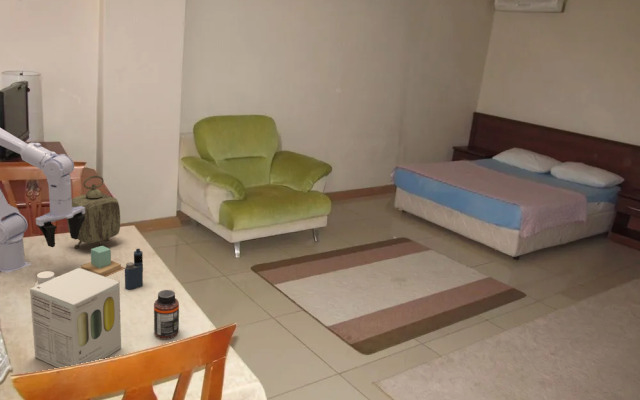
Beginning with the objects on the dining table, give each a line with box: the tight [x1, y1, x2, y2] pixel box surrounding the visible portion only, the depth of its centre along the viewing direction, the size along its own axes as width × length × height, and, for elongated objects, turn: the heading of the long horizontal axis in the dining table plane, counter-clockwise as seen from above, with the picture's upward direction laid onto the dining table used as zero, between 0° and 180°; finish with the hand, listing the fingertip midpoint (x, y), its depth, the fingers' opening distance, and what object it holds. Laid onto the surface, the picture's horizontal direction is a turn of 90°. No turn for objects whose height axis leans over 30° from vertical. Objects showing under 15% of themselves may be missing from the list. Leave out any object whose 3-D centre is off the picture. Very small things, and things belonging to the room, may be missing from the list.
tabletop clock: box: [66, 175, 121, 250], centre depth 173 cm, size 14×9×25 cm, turn 144°
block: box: [90, 245, 112, 268], centre depth 160 cm, size 4×4×5 cm
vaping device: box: [124, 248, 144, 291], centre depth 151 cm, size 3×5×12 cm, turn 137°
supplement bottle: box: [153, 289, 180, 340], centre depth 130 cm, size 6×6×11 cm
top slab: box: [80, 260, 122, 276], centre depth 160 cm, size 8×8×2 cm
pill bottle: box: [34, 270, 55, 287], centre depth 137 cm, size 5×5×10 cm
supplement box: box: [29, 267, 122, 368], centre depth 119 cm, size 13×13×18 cm
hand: (63, 242), depth 154 cm, fingers open, 7 cm apart
